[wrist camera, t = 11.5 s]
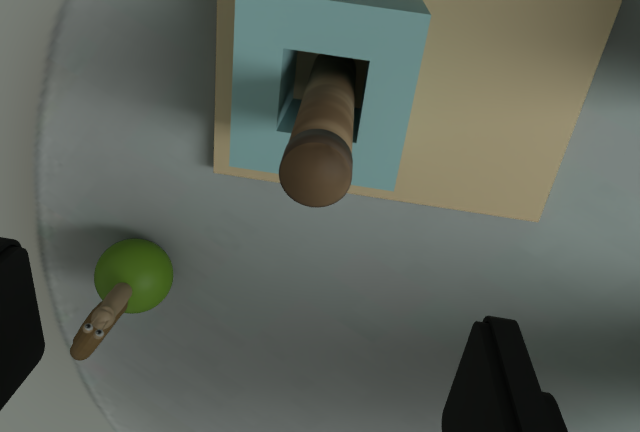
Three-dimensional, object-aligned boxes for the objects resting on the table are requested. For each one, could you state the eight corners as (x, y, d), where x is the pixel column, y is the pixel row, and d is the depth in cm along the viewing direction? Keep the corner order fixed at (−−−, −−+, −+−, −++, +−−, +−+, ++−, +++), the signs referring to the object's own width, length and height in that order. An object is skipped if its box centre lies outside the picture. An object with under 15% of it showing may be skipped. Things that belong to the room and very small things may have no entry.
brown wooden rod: (359, 50, 30) (357, 146, 18) (353, 95, 32) (346, 211, 20) (314, 44, 30) (281, 136, 18) (309, 89, 32) (276, 202, 20)
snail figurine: (201, 242, 39) (136, 355, 29) (164, 295, 42) (92, 415, 32) (138, 202, 38) (47, 306, 28) (103, 259, 41) (9, 372, 31)
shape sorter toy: (616, -5, 29) (680, 12, 22) (534, 215, 35) (566, 274, 29) (223, -61, 29) (181, -58, 23) (217, 166, 36) (184, 215, 30)
